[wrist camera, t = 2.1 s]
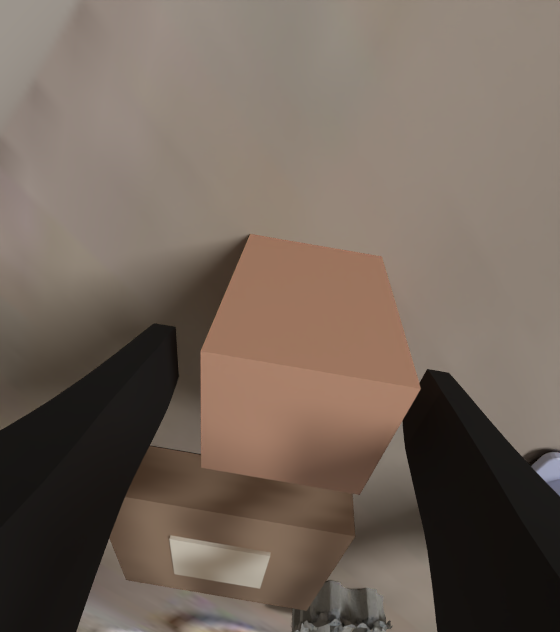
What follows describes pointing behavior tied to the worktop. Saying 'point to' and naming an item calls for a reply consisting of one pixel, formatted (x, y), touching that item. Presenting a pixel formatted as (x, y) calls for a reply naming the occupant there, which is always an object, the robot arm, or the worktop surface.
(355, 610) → the egg carton
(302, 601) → the walnut base
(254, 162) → the worktop surface
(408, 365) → the terracotta block
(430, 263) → the worktop surface
